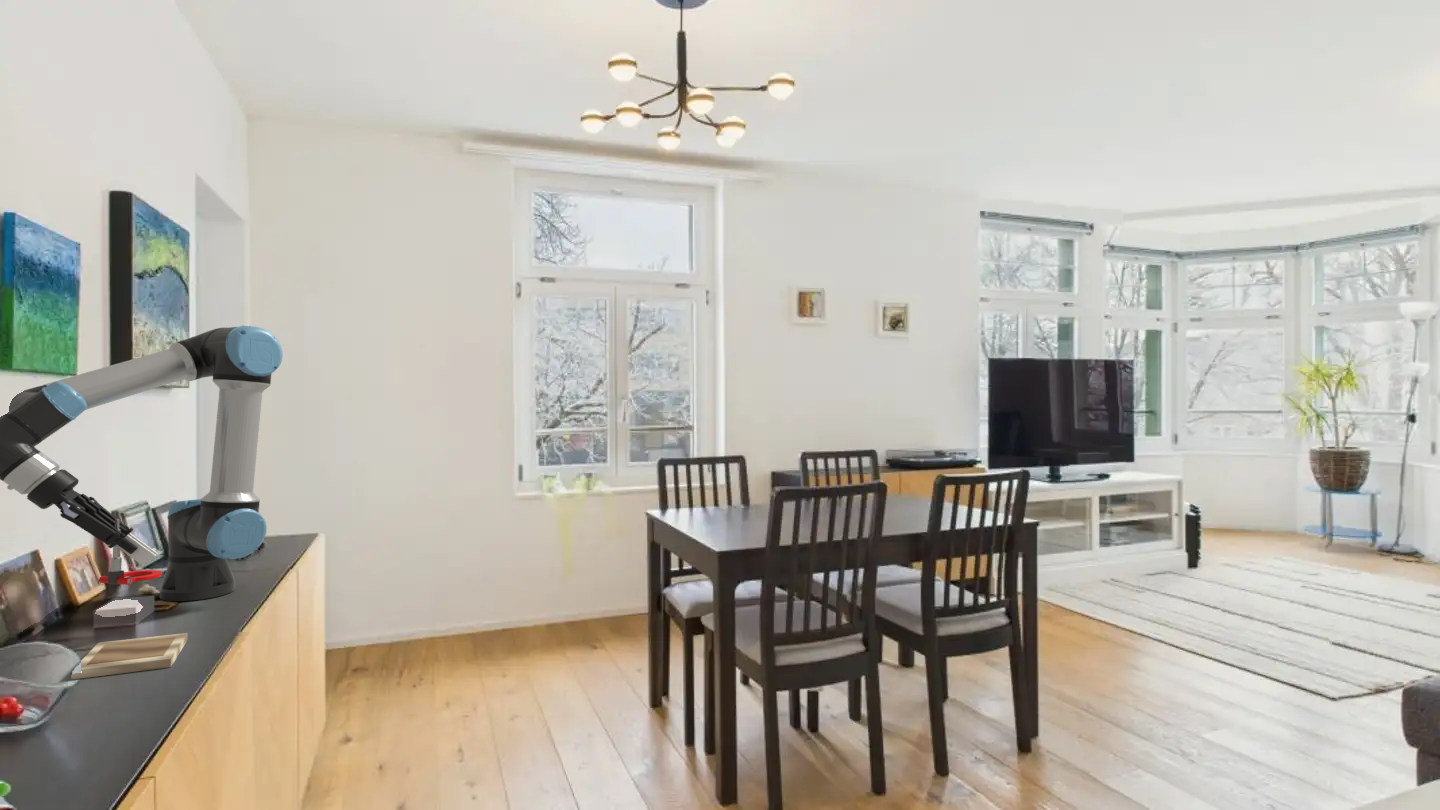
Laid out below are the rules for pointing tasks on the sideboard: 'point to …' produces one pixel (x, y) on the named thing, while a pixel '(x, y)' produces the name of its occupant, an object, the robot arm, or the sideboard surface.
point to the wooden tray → (131, 655)
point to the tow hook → (120, 576)
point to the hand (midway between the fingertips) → (151, 559)
